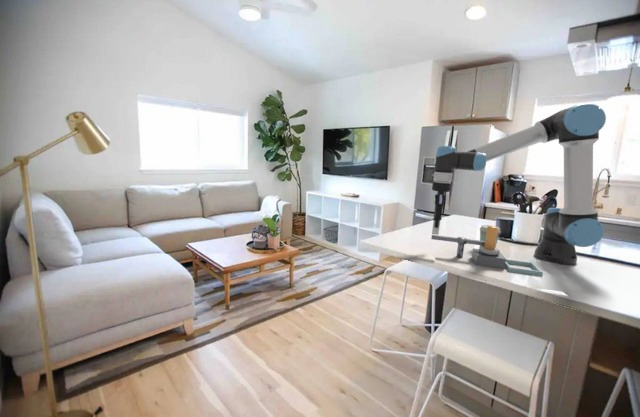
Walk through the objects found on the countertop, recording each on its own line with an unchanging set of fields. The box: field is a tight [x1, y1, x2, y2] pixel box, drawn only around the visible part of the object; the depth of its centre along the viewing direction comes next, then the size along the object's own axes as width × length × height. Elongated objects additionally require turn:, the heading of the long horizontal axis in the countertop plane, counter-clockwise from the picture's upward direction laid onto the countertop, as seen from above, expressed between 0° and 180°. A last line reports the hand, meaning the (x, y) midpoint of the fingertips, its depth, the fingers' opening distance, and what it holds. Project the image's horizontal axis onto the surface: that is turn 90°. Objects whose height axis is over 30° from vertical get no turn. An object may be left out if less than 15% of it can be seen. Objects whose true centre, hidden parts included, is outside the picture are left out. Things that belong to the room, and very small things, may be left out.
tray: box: [505, 258, 544, 277], centre depth 117 cm, size 11×11×2 cm
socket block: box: [471, 247, 507, 270], centre depth 123 cm, size 18×11×5 cm, turn 72°
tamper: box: [478, 225, 501, 256], centre depth 121 cm, size 7×7×15 cm
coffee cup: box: [479, 224, 501, 248], centre depth 140 cm, size 9×9×12 cm
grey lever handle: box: [430, 234, 485, 259], centre depth 127 cm, size 24×4×9 cm, turn 72°
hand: (435, 234), depth 136 cm, fingers closed
